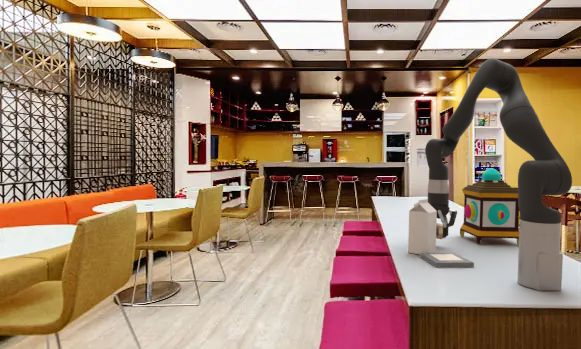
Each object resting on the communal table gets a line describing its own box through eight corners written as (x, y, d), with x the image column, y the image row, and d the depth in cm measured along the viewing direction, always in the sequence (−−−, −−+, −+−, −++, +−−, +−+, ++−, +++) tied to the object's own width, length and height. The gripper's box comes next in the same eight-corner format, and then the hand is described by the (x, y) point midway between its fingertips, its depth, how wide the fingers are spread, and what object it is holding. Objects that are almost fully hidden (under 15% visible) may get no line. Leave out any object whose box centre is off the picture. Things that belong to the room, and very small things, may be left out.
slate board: (473, 267, 118) (474, 262, 118) (436, 267, 117) (436, 262, 117) (454, 257, 130) (454, 252, 130) (420, 257, 129) (420, 252, 129)
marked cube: (446, 237, 145) (446, 224, 145) (441, 239, 141) (441, 225, 141) (433, 235, 148) (433, 222, 148) (427, 237, 145) (428, 224, 144)
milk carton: (435, 253, 136) (437, 199, 135) (427, 256, 130) (428, 201, 130) (416, 249, 140) (418, 198, 140) (407, 252, 135) (409, 199, 134)
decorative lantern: (475, 245, 148) (478, 168, 147) (455, 235, 168) (457, 167, 167) (527, 246, 147) (530, 169, 146) (501, 236, 167) (503, 167, 166)
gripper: (461, 192, 143) (460, 237, 143) (423, 190, 152) (422, 232, 153) (454, 193, 137) (453, 240, 137) (415, 191, 146) (414, 235, 147)
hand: (437, 236), depth 145 cm, fingers closed on marked cube, 5 cm apart
